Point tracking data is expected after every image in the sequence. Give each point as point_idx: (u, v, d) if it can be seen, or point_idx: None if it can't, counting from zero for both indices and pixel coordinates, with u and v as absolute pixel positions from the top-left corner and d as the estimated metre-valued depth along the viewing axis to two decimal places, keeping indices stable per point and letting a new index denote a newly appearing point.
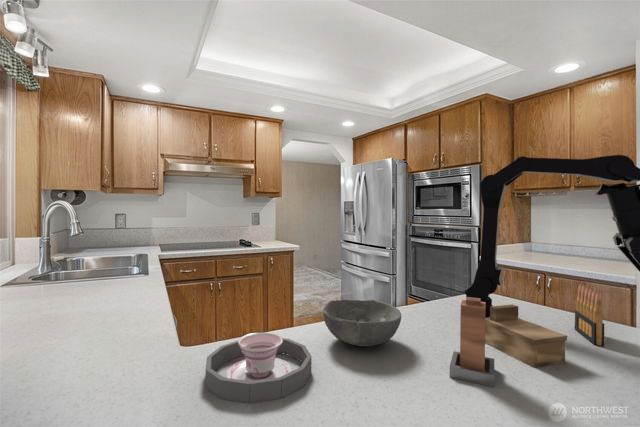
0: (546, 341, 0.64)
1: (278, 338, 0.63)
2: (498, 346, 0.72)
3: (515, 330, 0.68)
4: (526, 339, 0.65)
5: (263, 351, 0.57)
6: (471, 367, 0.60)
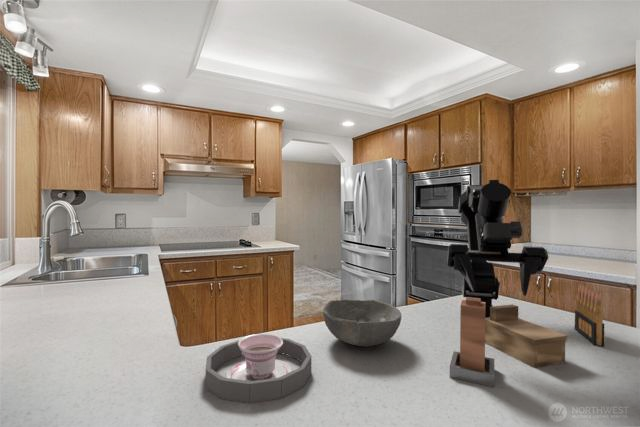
0: (546, 341, 0.64)
1: (278, 339, 0.62)
2: (498, 346, 0.72)
3: (515, 330, 0.68)
4: (526, 339, 0.65)
5: (263, 353, 0.57)
6: (471, 367, 0.60)
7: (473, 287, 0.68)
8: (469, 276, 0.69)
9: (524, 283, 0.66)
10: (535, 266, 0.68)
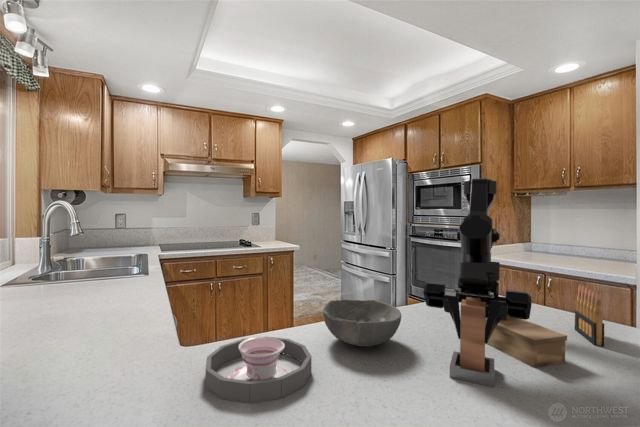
0: (546, 341, 0.64)
1: (280, 343, 0.61)
2: (498, 346, 0.72)
3: (515, 330, 0.68)
4: (526, 339, 0.65)
5: (265, 356, 0.55)
6: (471, 367, 0.60)
7: (458, 334, 0.61)
8: (455, 321, 0.62)
9: (486, 329, 0.60)
10: (503, 311, 0.62)
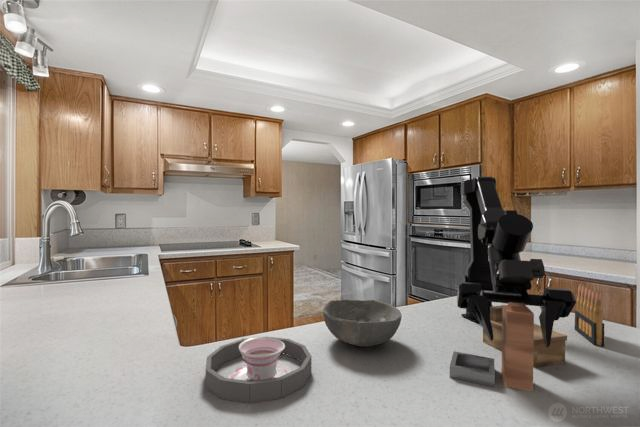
0: None
1: (280, 343, 0.61)
2: (498, 346, 0.72)
3: None
4: None
5: (265, 357, 0.55)
6: (518, 377, 0.56)
7: (491, 335, 0.58)
8: (486, 322, 0.59)
9: (546, 332, 0.56)
10: (558, 311, 0.58)
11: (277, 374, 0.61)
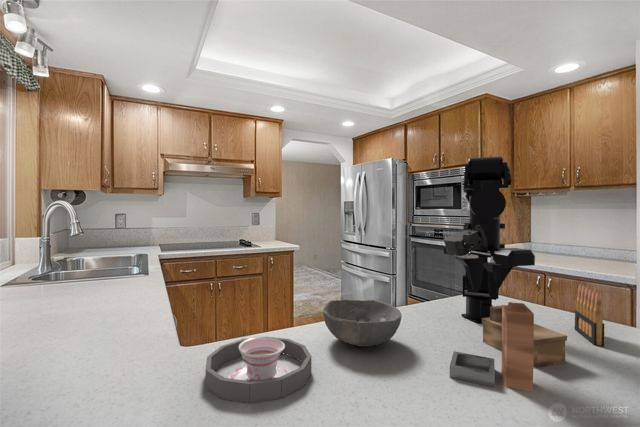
0: (546, 341, 0.64)
1: (280, 343, 0.61)
2: (498, 346, 0.72)
3: None
4: None
5: (265, 357, 0.55)
6: (518, 377, 0.56)
7: (473, 289, 0.70)
8: (469, 278, 0.71)
9: (488, 286, 0.66)
10: None
11: (277, 374, 0.61)
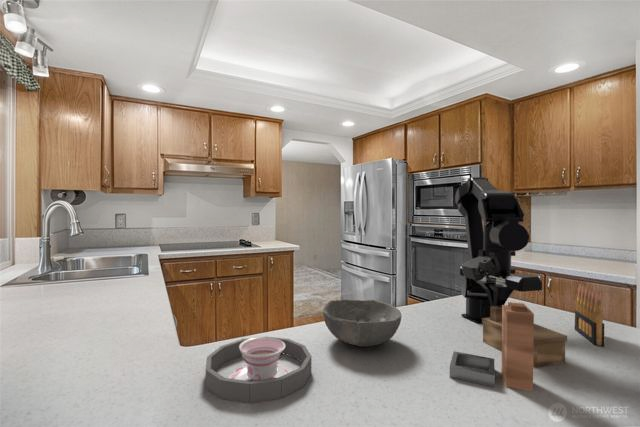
0: (546, 341, 0.64)
1: (280, 343, 0.61)
2: (498, 346, 0.72)
3: None
4: None
5: (265, 357, 0.55)
6: (518, 377, 0.56)
7: None
8: (489, 300, 0.78)
9: (494, 304, 0.77)
10: None
11: (277, 374, 0.61)
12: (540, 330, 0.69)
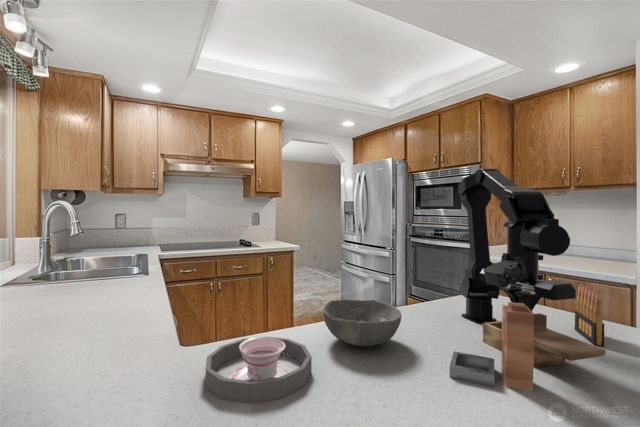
0: (583, 356, 0.58)
1: (280, 343, 0.61)
2: (498, 346, 0.72)
3: (546, 343, 0.62)
4: (560, 354, 0.58)
5: (265, 357, 0.55)
6: (518, 377, 0.56)
7: None
8: None
9: None
10: None
11: (277, 374, 0.61)
12: (573, 343, 0.62)
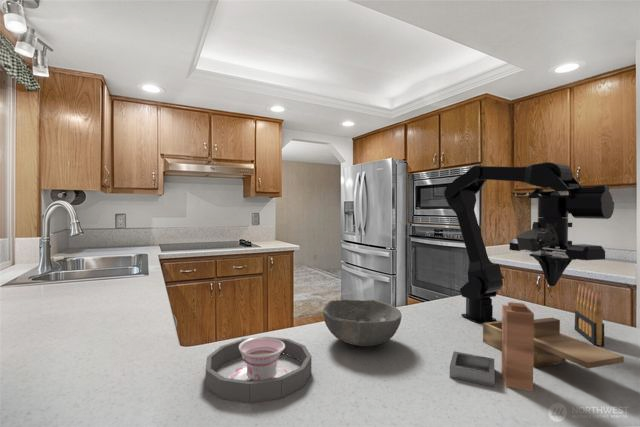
0: (601, 363, 0.55)
1: (280, 343, 0.61)
2: (498, 346, 0.72)
3: (561, 349, 0.59)
4: (577, 361, 0.56)
5: (265, 357, 0.55)
6: (518, 377, 0.56)
7: (548, 283, 0.76)
8: (544, 273, 0.77)
9: (550, 277, 0.75)
10: (563, 259, 0.73)
11: (277, 374, 0.61)
12: (589, 349, 0.59)
